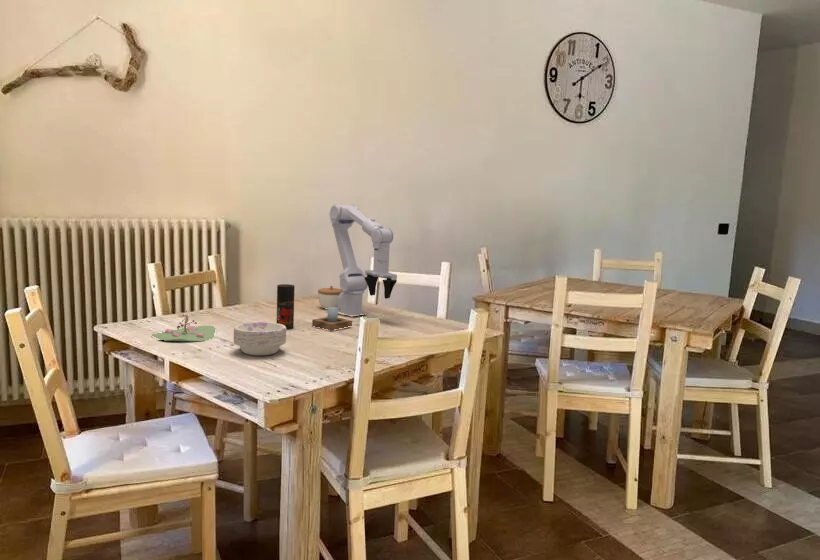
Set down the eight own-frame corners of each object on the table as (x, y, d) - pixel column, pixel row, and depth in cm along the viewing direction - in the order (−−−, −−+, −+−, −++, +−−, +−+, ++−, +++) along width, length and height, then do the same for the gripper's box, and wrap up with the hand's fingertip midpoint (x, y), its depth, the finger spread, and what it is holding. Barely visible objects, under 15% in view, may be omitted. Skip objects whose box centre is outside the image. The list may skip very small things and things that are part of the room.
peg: (325, 326, 227) (325, 307, 226) (332, 325, 229) (333, 306, 228) (331, 328, 224) (332, 309, 223) (339, 327, 227) (339, 308, 226)
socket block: (312, 326, 226) (312, 319, 226) (332, 322, 234) (333, 316, 233) (331, 331, 220) (331, 324, 220) (351, 327, 227) (352, 320, 227)
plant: (170, 325, 219) (170, 300, 218) (230, 328, 220) (230, 302, 218) (141, 343, 194) (141, 314, 193) (208, 346, 195) (208, 317, 194)
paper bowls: (264, 343, 200) (264, 318, 198) (296, 352, 190) (296, 327, 189) (222, 351, 188) (223, 325, 187) (254, 361, 178) (255, 334, 177)
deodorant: (272, 328, 221) (273, 285, 219) (283, 325, 226) (284, 283, 224) (286, 330, 218) (287, 287, 216) (297, 327, 223) (298, 285, 221)
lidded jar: (319, 311, 254) (319, 288, 253) (316, 306, 265) (316, 283, 263) (345, 311, 257) (346, 288, 256) (341, 306, 267) (342, 284, 266)
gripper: (359, 259, 236) (358, 294, 238) (388, 263, 227) (386, 300, 229) (372, 258, 242) (371, 293, 244) (401, 262, 232) (399, 298, 234)
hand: (379, 296), depth 237 cm, fingers open, 7 cm apart
